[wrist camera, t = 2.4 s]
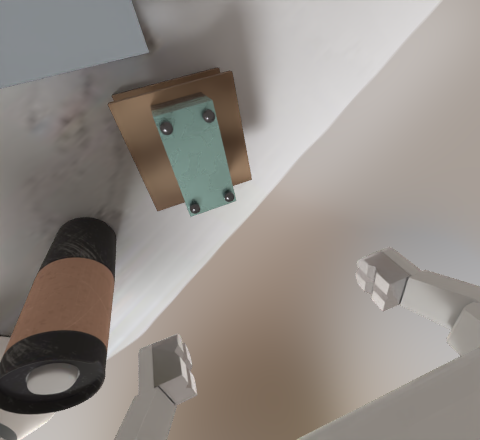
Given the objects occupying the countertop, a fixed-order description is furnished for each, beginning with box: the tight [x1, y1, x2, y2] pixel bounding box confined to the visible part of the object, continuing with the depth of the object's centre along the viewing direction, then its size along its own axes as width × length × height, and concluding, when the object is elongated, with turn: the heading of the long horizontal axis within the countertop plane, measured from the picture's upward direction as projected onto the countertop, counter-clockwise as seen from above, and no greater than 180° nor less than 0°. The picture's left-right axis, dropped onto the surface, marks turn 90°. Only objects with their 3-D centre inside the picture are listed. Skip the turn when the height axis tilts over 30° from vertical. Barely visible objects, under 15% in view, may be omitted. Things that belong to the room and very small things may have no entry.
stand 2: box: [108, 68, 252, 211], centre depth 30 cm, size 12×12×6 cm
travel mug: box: [0, 218, 116, 415], centre depth 28 cm, size 8×8×20 cm
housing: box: [150, 92, 236, 216], centre depth 26 cm, size 10×5×6 cm, turn 11°
